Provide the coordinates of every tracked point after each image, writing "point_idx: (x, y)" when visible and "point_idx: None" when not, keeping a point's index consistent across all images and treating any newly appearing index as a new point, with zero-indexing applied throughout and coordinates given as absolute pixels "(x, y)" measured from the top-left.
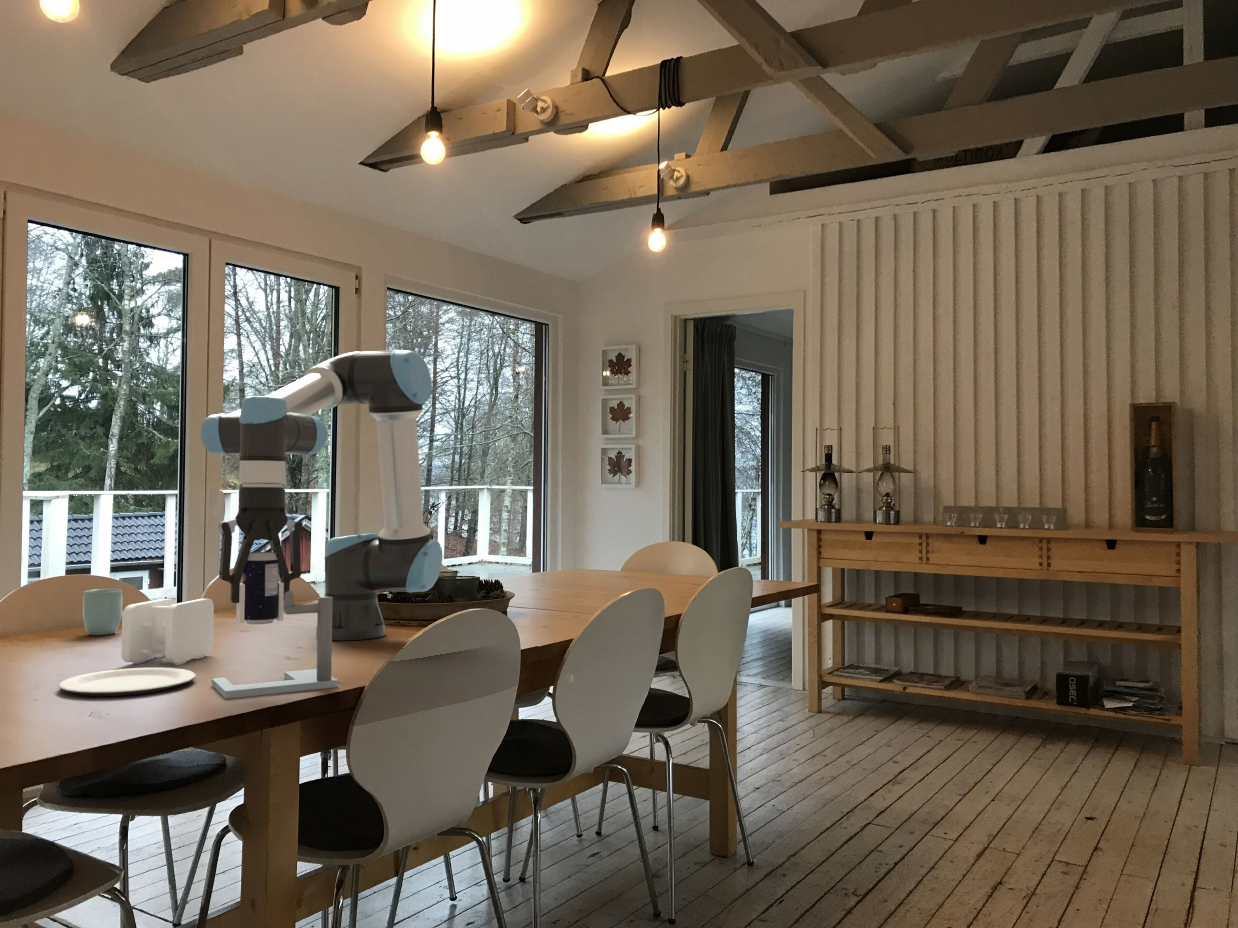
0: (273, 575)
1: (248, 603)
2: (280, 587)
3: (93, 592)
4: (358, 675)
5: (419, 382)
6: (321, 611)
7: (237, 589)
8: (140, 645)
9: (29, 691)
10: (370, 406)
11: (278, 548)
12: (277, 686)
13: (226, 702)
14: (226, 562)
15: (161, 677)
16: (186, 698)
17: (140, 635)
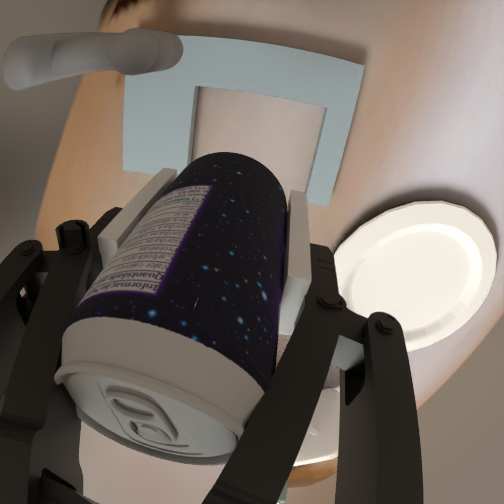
0: (129, 245)
1: (278, 211)
2: (120, 227)
3: (281, 499)
4: (74, 124)
5: None
6: (65, 38)
7: (314, 279)
8: (320, 407)
9: (485, 319)
10: None
11: (24, 396)
12: (254, 42)
13: (372, 35)
14: (395, 396)
15: (360, 298)
16: (410, 125)
17: (320, 419)
